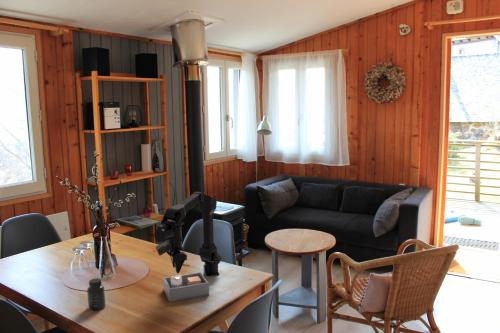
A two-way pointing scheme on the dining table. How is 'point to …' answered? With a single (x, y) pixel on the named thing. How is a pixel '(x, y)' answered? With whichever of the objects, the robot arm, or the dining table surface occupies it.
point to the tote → (186, 288)
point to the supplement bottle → (96, 295)
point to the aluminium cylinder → (176, 281)
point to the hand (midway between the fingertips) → (176, 270)
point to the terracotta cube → (193, 280)
